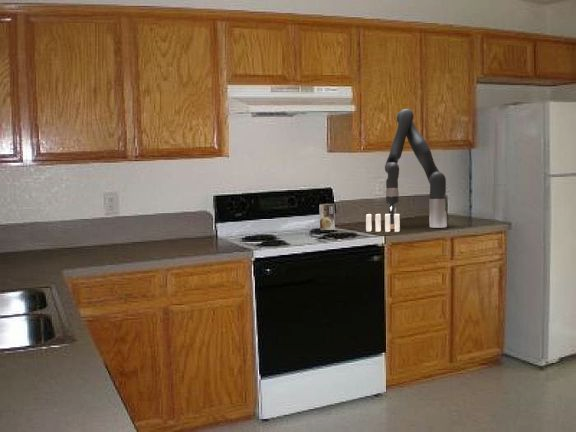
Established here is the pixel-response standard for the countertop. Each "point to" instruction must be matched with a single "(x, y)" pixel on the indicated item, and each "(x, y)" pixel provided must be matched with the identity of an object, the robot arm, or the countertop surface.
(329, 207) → the coffee box
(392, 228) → the domino
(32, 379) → the countertop surface
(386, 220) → the domino
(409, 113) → the robot arm
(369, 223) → the domino
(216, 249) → the countertop surface
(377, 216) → the domino
